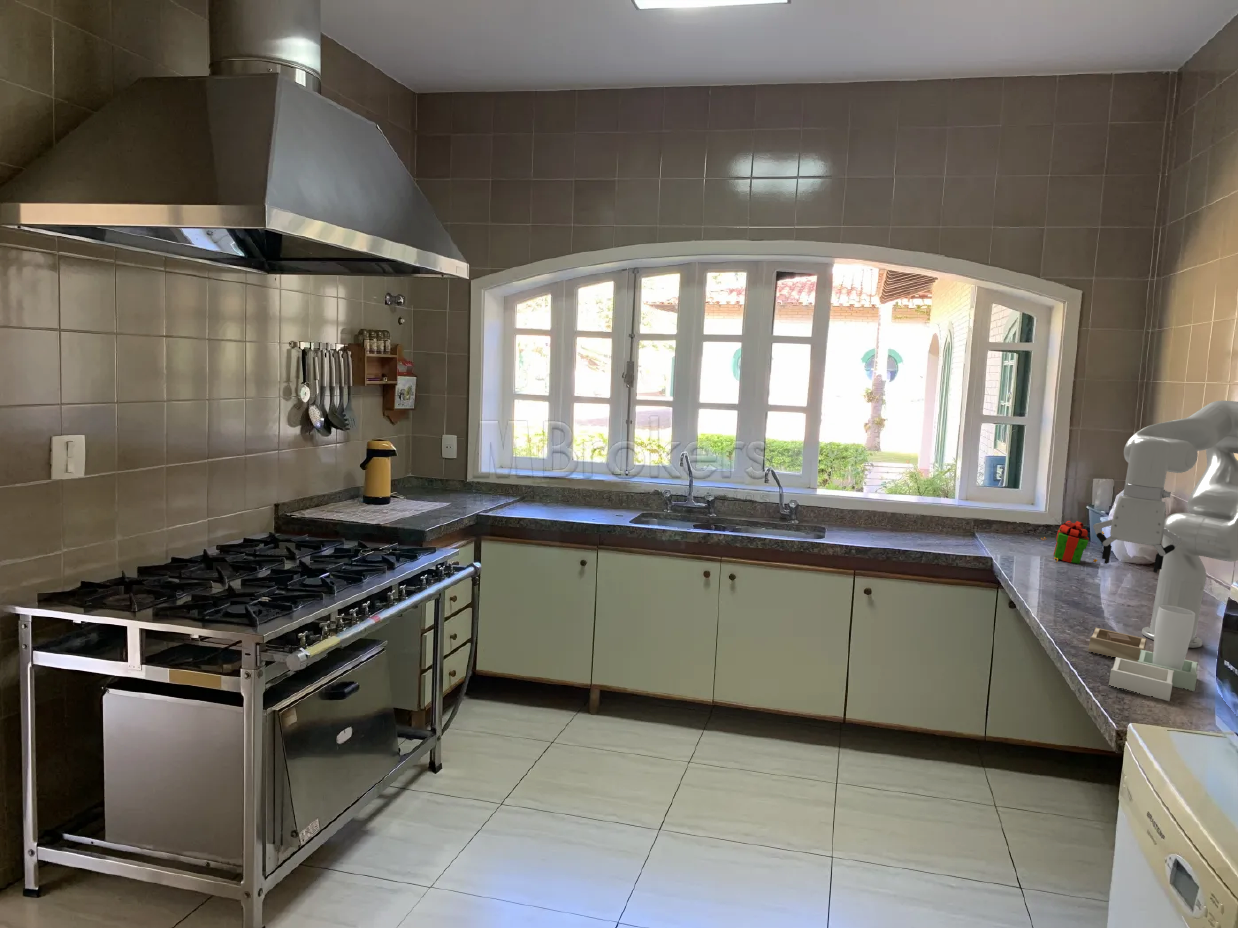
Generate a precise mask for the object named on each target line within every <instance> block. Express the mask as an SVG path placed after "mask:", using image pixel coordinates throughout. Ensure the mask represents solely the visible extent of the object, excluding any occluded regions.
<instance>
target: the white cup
mask: <svg viewBox="0 0 1238 928" xmlns="http://www.w3.org/2000/svg"><path fill="white" fill-rule="evenodd" d="M1194 622H1195V613H1194V612H1193V611H1190V610H1188V609H1184V608H1180V607H1175V606H1168V605H1161V606H1159V608H1158V612H1157V617H1156V623H1155V634H1154V640H1153V650H1152V651H1153V662H1152V664H1156V665H1160V666H1165V667H1169V668H1173V669H1178V670H1182V668H1183V665H1184V661H1185V660H1186V657H1187V655H1188V654H1187V653H1188V651H1189V644H1190V640H1191V637H1192V633H1193V628H1194Z"/></svg>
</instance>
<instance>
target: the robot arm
mask: <svg viewBox="0 0 1238 928" xmlns="http://www.w3.org/2000/svg"><path fill="white" fill-rule="evenodd" d="M1201 451H1205V454H1206V455H1205V456H1206V467H1205V470H1204V472H1203V473H1202V475H1201V477H1200V478H1199V480H1198V481H1197V484H1196V485H1195V487H1194V488H1193V490H1192V491H1191V493H1190V495H1189V496H1188V499H1187V503H1186V509H1187V511H1188V512H1177V513H1175V512H1174V513H1172V514H1170V515H1168V516H1167V517H1166V515H1167V514H1166V513H1167V505H1166V504H1167V503H1166V501H1163V499H1164V498H1165V499H1166V498H1169V499H1171V493H1172V491H1168V490H1166V489H1165V484H1166V479H1167V472H1168V473H1175V474H1176V473H1177V474H1180V473H1181V474H1182V473H1186V472H1189V471H1191V469H1193V468H1194V467H1195V465H1196V463H1197V461H1198V455H1199V454H1198V452H1201ZM1235 454H1237V455H1238V401H1233V400H1216V401H1212V402H1210V403H1207V404H1206V405H1205V406H1203V407H1202V408H1200V409H1198V410H1197V411H1196V412H1195V413H1194V412H1193V414H1191V415H1190V416H1188V417H1185V418H1180V419H1174V420H1168V421H1164V422H1159V423H1155V424H1150V425H1148V426H1146V427H1145V426H1144V427H1143V428H1142V429H1140V430H1138V431H1137V432H1135V433H1134V434H1132V435H1131V437H1129V438H1128V440H1127V441H1126V444H1125V445H1124V448H1123V457H1124V460H1125V461H1126V462H1127V471H1126V475H1125V476H1126V477H1125V482H1124V489H1123V494H1122V495H1119V497H1118V499H1117V501H1116V505H1115V508H1114V512H1113V515H1112V519H1109V520H1104V521H1101V522H1098V523H1097V522H1096V523H1094V524H1093V525H1092V528H1093V530H1094V532H1095V534H1096V537H1097V539H1098V541H1100V542H1101V544H1102V546H1103V550H1102V555H1101V559H1102V560H1104V565H1105V564H1109V562H1110V561H1111V560H1110V559H1111V552H1112V543H1113V542H1114V541H1116V540H1117V541H1122V542H1126V543H1127V542H1128V543H1132V544H1133V543H1134V544H1139V545H1143V546H1144V545H1145V546H1150V547H1151V546H1152V547H1153V548H1154V549H1155V550H1156V551H1157V553H1156V555H1155V558H1154V559H1155V560H1154V564H1153V570H1152V572H1153V573H1155V574H1157V573H1158V570H1159V573H1158V578H1157V585H1156V591H1155V597H1154V602H1153V608H1152V615H1151V621H1150V626H1145V627H1143V628H1142V630H1141V634H1142V635H1144V637H1147V638H1149V640H1153V641H1154V634H1155V623H1156V617H1157V612H1158V608H1159V606H1161V605H1168V606H1175V607H1180V608H1184V609H1188V610H1190V611H1193V612H1194V613H1195V622H1194V628H1193V633H1192V637H1191V640H1190V644H1189V647H1188V649H1189V648H1190V649H1191V648H1192V649H1193V648H1201V647H1202V646H1203V640H1202V639H1201V638H1200V637H1198V636H1197V630H1198V624H1199V618H1200V613H1201V609H1202V601H1203V597H1204V592H1205V591H1204V590H1205V585H1206V580H1207V572H1206V568H1205V565H1204V563H1203V562H1202V560H1201V557H1204V558H1209V559H1213V560H1219V561H1224V562H1228V563H1229V562H1236V561H1238V459H1237V458H1236V457H1235ZM1107 527H1110V531H1109V536H1108V537H1106V536H1105V533H1104V532H1103V533H1104V534H1103V533H1102V531H1103V530H1102V528H1107Z"/></svg>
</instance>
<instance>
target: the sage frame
mask: <svg viewBox="0 0 1238 928" xmlns="http://www.w3.org/2000/svg"><path fill="white" fill-rule="evenodd" d="M1138 662H1139V663H1143V664H1147V665H1152V666H1156V667H1160V668H1164V669H1169V670H1173V671H1174V675H1173V681H1172V683H1173V684H1172V687H1174V688H1179V689H1183V688H1185V689H1184V690H1187V689H1189V690H1188V691H1191V690H1192V692H1195V689H1196V686H1197V680H1198V673H1197V671H1198V661H1192V660H1188V659H1185V661H1184V665H1183V668H1182V670H1178V669H1173V668H1169V667H1165V666H1160V665H1156V664H1152V662H1153V652H1152V651H1148V650H1146V649H1145V650H1140V656H1139V660H1138Z"/></svg>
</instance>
